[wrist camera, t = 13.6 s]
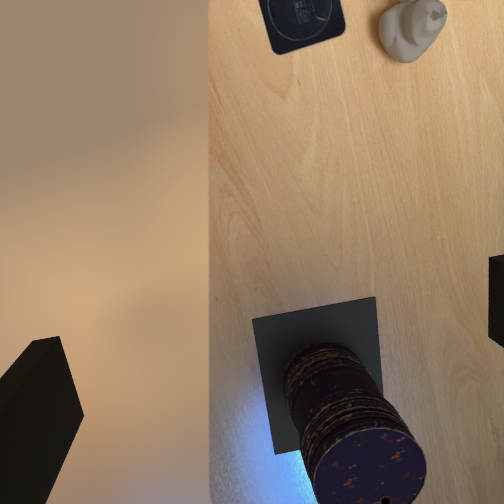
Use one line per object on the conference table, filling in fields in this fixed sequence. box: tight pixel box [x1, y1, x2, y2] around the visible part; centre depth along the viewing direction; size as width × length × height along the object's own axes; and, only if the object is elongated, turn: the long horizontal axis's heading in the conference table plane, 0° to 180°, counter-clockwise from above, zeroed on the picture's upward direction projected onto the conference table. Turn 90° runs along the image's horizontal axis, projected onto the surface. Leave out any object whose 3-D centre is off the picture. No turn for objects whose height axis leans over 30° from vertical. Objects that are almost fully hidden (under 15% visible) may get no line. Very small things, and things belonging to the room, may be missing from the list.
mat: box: [252, 297, 384, 455], centre depth 49 cm, size 18×14×1 cm
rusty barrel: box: [282, 341, 427, 504], centre depth 41 cm, size 10×10×15 cm
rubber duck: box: [379, 0, 447, 63], centre depth 36 cm, size 5×7×8 cm
